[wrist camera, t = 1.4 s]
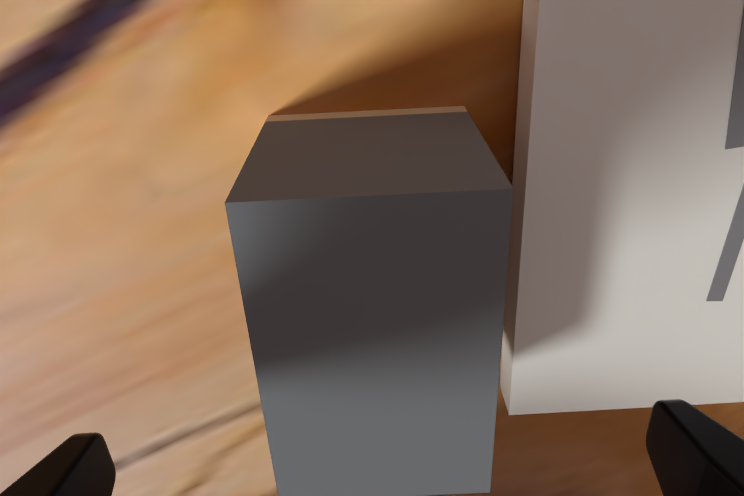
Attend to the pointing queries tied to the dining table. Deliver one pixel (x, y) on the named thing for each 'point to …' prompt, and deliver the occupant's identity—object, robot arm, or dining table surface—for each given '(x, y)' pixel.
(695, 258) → the board
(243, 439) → the dining table surface
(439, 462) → the block
